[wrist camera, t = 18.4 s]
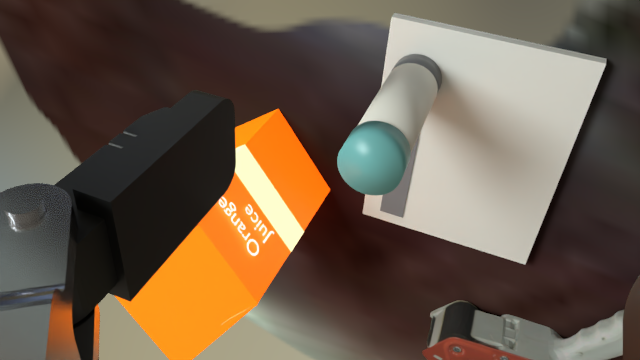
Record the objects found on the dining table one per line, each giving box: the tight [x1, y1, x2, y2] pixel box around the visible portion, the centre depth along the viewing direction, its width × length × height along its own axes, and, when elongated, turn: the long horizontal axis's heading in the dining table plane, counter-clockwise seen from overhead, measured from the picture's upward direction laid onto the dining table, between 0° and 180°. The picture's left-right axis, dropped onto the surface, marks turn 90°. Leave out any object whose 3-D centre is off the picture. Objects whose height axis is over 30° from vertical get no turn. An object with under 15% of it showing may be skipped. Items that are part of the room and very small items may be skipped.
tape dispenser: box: [422, 300, 624, 360], centre depth 52 cm, size 18×5×20 cm
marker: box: [337, 54, 442, 195], centre depth 38 cm, size 4×4×12 cm
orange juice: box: [114, 109, 330, 360], centre depth 46 cm, size 8×9×20 cm
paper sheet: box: [363, 13, 606, 264], centre depth 44 cm, size 14×18×1 cm
